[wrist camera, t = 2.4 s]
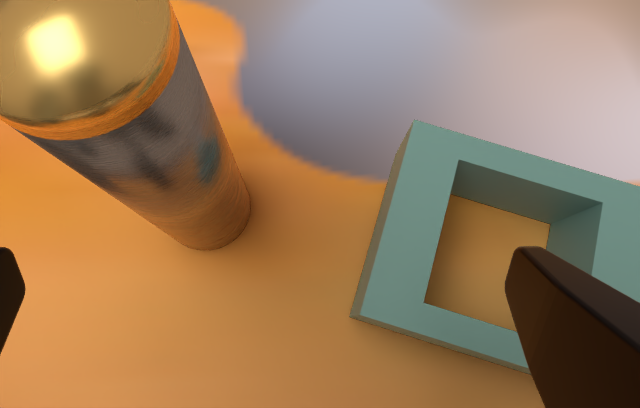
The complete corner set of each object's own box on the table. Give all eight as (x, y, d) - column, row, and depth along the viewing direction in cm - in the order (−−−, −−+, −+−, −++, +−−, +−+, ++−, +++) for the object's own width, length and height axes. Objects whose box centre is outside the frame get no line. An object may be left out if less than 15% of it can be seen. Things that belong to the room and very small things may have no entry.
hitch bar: (349, 317, 21) (359, 314, 17) (395, 154, 23) (414, 119, 19) (801, 460, 20) (921, 492, 16) (807, 279, 22) (916, 268, 18)
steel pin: (171, 259, 21) (-63, 139, 8) (157, 176, 22) (-73, -60, 9) (258, 239, 22) (183, 90, 8) (241, 158, 23) (147, -96, 9)
